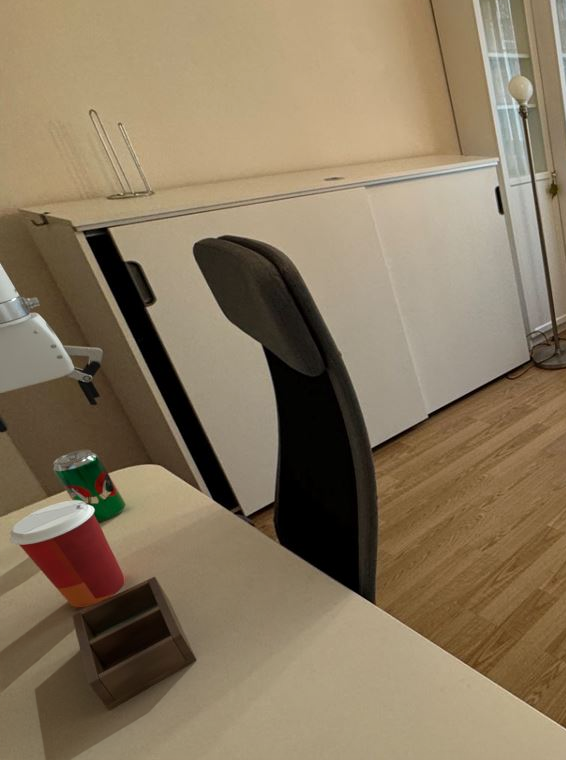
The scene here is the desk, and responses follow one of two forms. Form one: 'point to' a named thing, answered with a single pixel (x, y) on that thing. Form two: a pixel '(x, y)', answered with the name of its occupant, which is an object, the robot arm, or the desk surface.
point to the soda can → (89, 483)
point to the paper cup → (71, 551)
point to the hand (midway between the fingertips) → (50, 415)
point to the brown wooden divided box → (131, 642)
